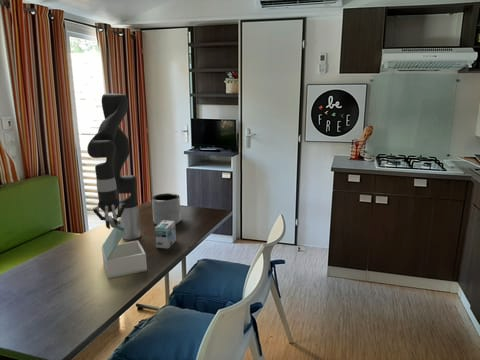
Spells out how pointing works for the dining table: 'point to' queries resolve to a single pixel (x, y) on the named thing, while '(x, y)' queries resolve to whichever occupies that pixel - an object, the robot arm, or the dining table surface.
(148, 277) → the dining table surface
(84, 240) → the dining table surface
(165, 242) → the light bulb box
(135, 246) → the cabinet
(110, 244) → the door
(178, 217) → the planter
